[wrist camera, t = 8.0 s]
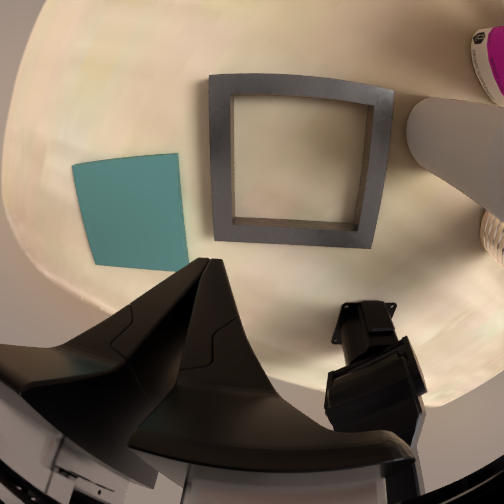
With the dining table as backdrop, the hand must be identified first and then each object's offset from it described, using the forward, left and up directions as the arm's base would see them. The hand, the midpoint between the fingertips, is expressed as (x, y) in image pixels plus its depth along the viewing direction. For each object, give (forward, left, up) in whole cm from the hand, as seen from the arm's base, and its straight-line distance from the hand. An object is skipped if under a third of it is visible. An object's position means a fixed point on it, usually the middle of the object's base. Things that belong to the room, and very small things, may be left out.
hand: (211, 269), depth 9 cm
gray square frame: (+1, -4, -13) cm, 14 cm away
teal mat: (-4, +11, -13) cm, 18 cm away
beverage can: (+5, -15, -13) cm, 21 cm away
